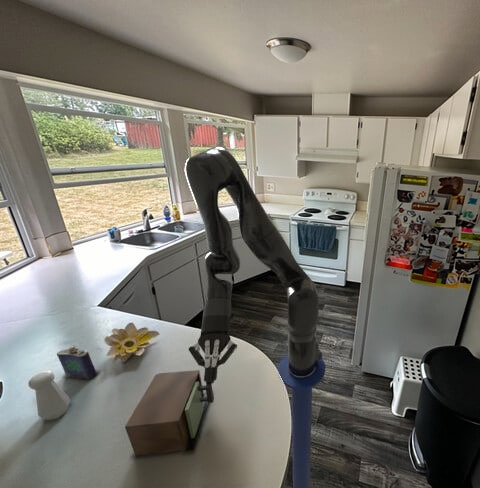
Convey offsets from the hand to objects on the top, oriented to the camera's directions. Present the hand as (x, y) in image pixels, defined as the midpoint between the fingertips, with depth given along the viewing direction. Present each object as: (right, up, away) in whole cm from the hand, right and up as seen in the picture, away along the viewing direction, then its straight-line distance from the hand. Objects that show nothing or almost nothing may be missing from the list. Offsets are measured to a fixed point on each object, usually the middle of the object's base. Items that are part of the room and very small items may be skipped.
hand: (209, 383), depth 66 cm
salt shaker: (-41, -8, +1) cm, 42 cm away
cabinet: (-9, -10, -1) cm, 14 cm away
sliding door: (-1, -10, -1) cm, 10 cm away
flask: (-45, -4, +12) cm, 47 cm away
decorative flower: (-36, -1, +21) cm, 42 cm away
